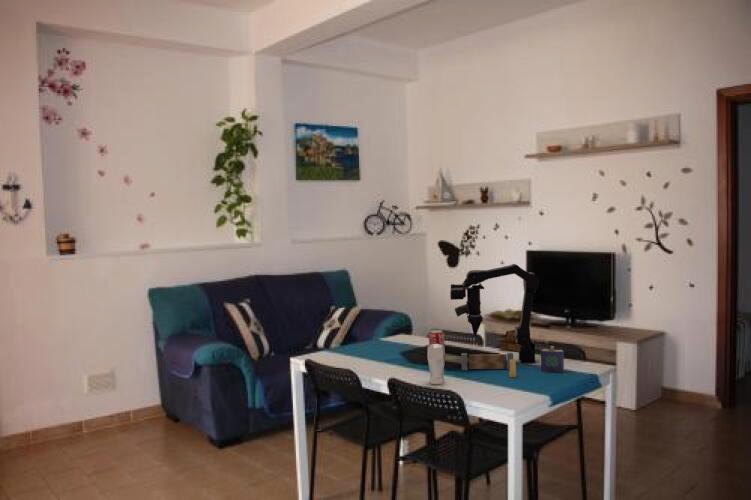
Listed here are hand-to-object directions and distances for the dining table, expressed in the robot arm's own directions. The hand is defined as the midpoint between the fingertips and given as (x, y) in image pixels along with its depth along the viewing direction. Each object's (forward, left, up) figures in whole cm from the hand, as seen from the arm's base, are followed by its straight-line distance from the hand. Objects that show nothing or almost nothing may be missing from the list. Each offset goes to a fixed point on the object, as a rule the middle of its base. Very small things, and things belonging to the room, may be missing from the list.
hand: (474, 333), depth 278 cm
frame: (-5, +17, -13) cm, 21 cm away
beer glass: (+17, +29, -13) cm, 36 cm away
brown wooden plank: (-5, +11, -13) cm, 18 cm away
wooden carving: (-20, -19, -13) cm, 31 cm away
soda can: (+17, -11, -13) cm, 24 cm away
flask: (-31, +15, -13) cm, 37 cm away
